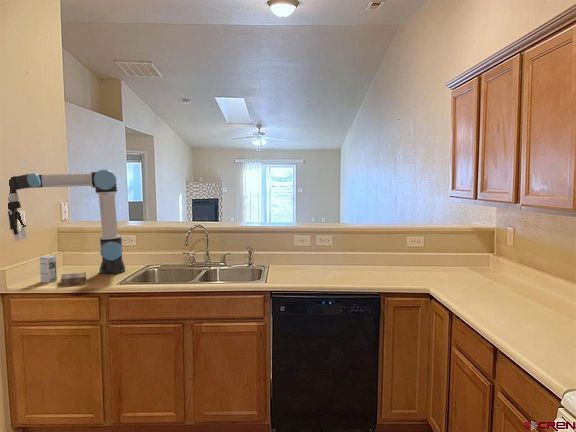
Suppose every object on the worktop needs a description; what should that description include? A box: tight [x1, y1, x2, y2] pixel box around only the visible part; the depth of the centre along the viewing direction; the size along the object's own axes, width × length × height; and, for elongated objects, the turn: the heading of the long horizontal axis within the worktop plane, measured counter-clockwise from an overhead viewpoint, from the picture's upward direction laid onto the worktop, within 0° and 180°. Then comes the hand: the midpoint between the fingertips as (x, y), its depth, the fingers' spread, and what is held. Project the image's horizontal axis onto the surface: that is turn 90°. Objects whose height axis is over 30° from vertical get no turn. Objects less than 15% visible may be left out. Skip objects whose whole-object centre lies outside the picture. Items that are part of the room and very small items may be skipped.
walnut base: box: [60, 272, 87, 287], centre depth 219 cm, size 12×12×4 cm
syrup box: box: [39, 255, 58, 283], centre depth 220 cm, size 6×6×14 cm
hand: (21, 239), depth 213 cm, fingers open, 13 cm apart
